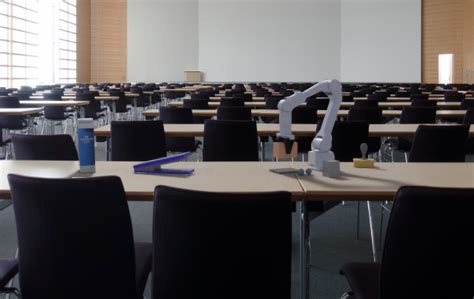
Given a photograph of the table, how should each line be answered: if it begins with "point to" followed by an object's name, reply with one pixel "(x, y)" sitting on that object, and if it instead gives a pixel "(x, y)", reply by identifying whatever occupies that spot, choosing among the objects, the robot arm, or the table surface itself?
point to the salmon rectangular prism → (283, 150)
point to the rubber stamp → (363, 159)
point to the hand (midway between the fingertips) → (285, 153)
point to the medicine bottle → (311, 157)
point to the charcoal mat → (284, 170)
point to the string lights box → (86, 145)
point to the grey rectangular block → (331, 168)
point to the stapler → (155, 165)
